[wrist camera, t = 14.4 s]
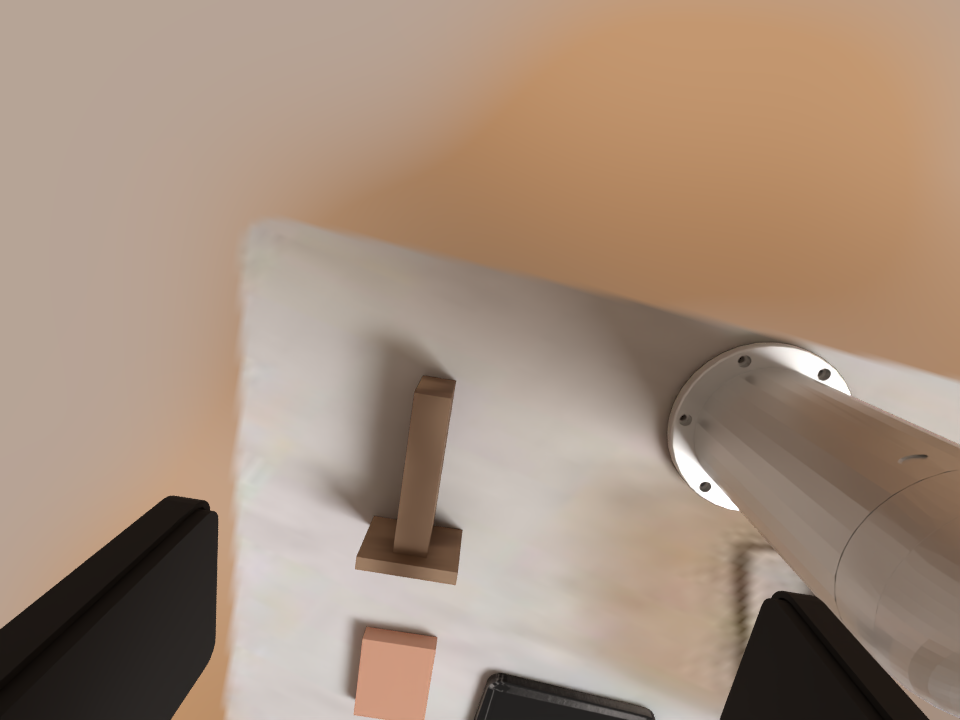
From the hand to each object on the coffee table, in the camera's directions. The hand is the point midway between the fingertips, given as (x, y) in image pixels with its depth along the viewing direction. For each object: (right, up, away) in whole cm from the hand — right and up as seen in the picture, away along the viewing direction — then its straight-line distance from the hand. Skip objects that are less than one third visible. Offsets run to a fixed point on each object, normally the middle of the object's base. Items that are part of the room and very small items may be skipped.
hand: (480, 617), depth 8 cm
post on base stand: (-4, -3, +28) cm, 28 cm away
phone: (+7, -28, +35) cm, 45 cm away
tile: (-7, -19, +32) cm, 37 cm away
